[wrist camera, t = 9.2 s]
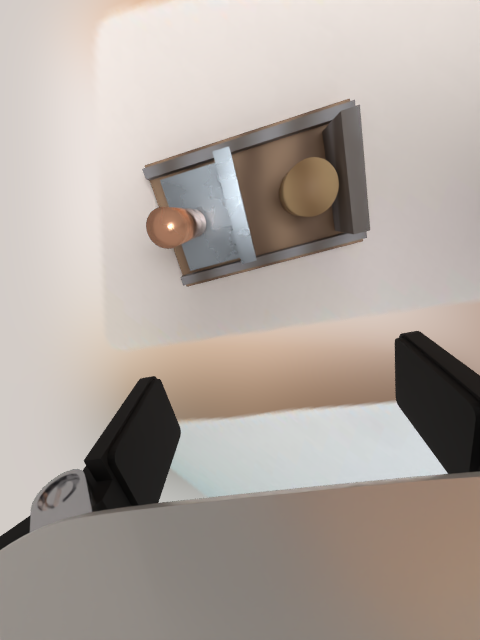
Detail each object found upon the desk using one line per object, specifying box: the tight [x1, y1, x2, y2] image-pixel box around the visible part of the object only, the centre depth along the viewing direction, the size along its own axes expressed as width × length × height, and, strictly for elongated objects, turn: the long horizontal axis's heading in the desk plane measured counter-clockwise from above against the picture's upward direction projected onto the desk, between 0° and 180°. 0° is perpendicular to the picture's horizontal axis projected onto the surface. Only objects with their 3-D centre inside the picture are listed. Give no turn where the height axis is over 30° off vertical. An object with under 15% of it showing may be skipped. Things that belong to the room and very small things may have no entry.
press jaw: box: [146, 146, 256, 271], centre depth 25 cm, size 8×10×12 cm
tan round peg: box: [279, 157, 339, 217], centre depth 27 cm, size 5×5×5 cm
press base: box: [142, 99, 370, 287], centre depth 28 cm, size 22×14×8 cm, turn 105°
